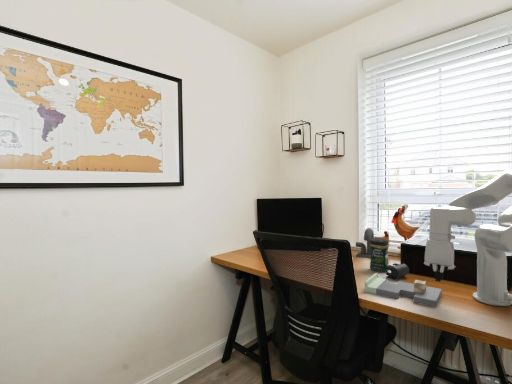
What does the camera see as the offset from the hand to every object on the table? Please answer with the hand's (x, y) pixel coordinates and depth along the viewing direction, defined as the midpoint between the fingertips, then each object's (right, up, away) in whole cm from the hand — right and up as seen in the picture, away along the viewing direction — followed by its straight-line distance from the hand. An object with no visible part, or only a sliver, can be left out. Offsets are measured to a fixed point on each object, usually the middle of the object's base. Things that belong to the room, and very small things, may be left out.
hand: (438, 280), depth 120 cm
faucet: (-2, -7, +69) cm, 69 cm away
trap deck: (-10, -9, +10) cm, 16 cm away
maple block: (-5, -6, +5) cm, 9 cm away
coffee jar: (-6, -8, +43) cm, 44 cm away
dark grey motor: (-2, -8, +30) cm, 31 cm away
